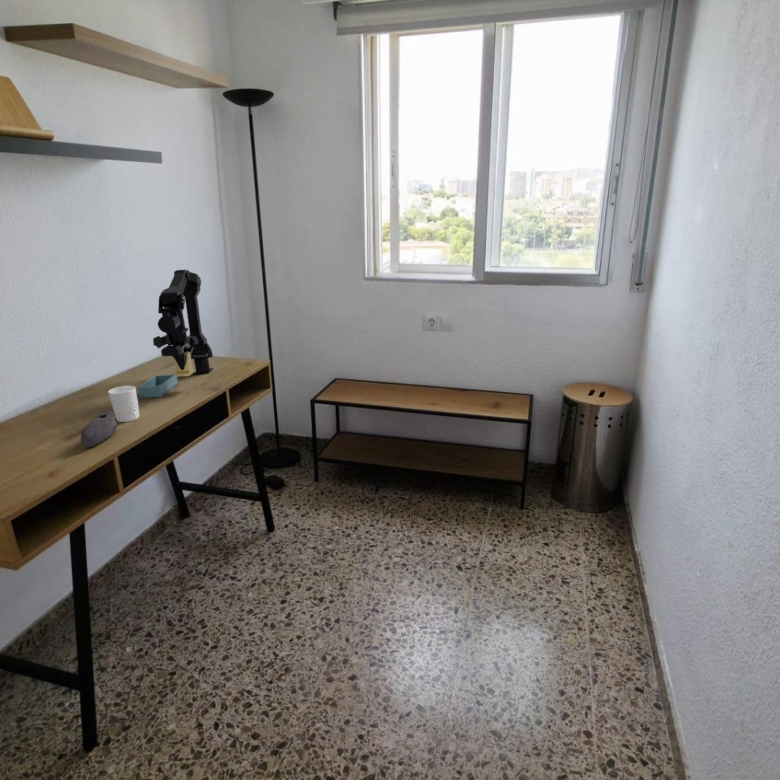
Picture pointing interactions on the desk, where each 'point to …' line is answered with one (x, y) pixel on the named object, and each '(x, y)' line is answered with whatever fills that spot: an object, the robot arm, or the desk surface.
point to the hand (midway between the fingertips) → (184, 368)
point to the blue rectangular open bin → (157, 386)
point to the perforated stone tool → (99, 429)
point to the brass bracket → (187, 369)
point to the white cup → (124, 403)
